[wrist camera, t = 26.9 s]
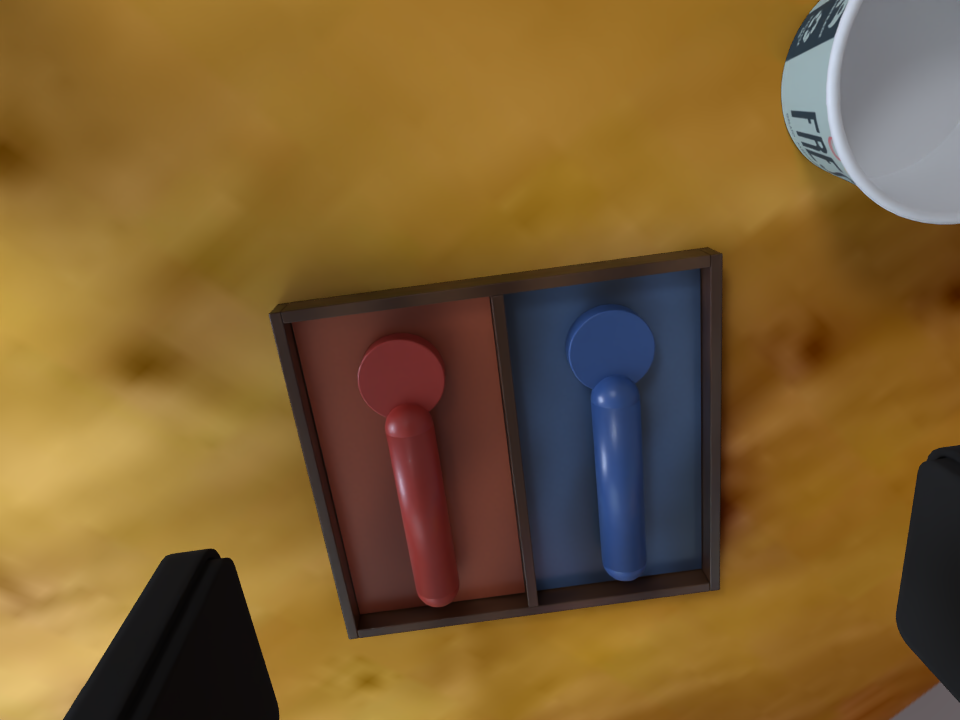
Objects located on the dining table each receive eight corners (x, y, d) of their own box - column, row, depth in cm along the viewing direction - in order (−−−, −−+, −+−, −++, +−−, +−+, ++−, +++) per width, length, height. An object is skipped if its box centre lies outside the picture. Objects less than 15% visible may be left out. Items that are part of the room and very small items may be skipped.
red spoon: (477, 581, 38) (479, 611, 35) (404, 591, 38) (401, 622, 35) (438, 326, 32) (437, 342, 30) (352, 338, 32) (345, 354, 30)
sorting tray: (353, 617, 39) (348, 640, 37) (277, 303, 32) (267, 313, 30) (708, 570, 39) (720, 590, 37) (708, 247, 32) (723, 253, 30)
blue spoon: (656, 557, 38) (669, 585, 35) (582, 566, 38) (591, 596, 35) (647, 298, 32) (662, 311, 30) (561, 309, 32) (570, 323, 30)
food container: (1059, 8, 29) (1223, -25, 23) (898, 246, 33) (1004, 273, 26) (851, -130, 27) (971, -208, 21) (703, 141, 30) (768, 143, 24)
